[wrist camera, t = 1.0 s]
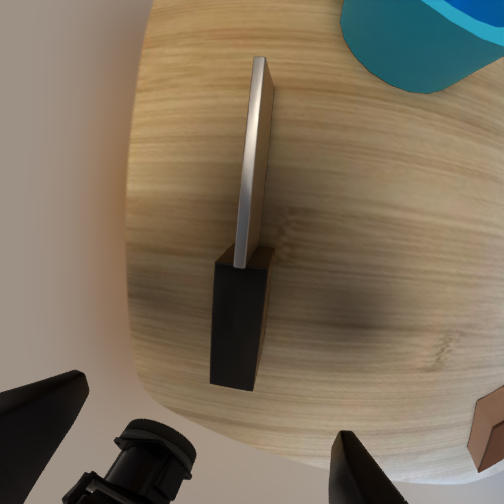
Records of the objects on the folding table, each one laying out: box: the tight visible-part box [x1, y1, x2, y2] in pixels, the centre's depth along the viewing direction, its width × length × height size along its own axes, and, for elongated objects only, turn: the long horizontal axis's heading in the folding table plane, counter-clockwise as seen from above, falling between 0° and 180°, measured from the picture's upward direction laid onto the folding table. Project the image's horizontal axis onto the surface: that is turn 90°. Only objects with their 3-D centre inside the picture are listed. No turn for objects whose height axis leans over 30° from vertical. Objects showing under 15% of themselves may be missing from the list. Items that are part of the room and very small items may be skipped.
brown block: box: [468, 386, 504, 473], centre depth 15 cm, size 4×8×4 cm, turn 21°
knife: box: [210, 56, 275, 391], centre depth 14 cm, size 16×2×4 cm, turn 174°
